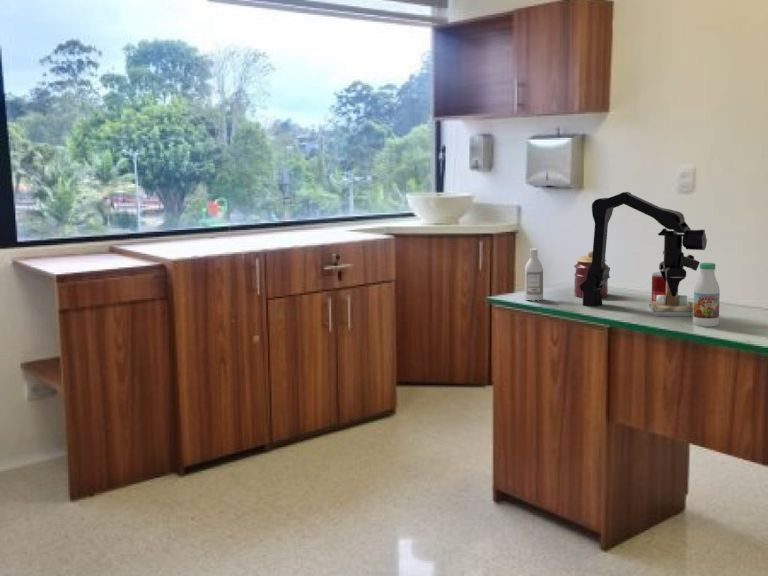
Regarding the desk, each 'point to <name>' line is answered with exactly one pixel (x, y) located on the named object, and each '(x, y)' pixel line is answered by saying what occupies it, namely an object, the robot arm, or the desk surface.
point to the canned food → (657, 285)
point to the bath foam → (534, 277)
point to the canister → (585, 274)
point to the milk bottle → (706, 297)
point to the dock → (670, 312)
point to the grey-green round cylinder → (682, 300)
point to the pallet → (671, 308)
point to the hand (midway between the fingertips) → (671, 293)
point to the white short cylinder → (660, 300)
